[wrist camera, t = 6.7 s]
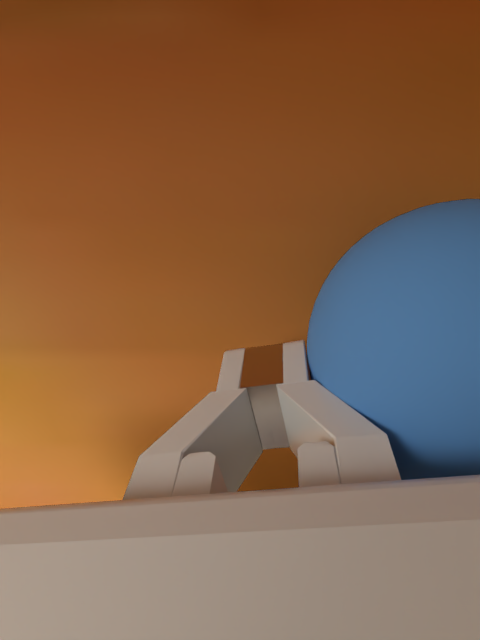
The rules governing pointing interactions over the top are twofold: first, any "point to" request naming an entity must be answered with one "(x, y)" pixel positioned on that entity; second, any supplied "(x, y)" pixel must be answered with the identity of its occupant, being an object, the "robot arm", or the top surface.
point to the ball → (408, 336)
